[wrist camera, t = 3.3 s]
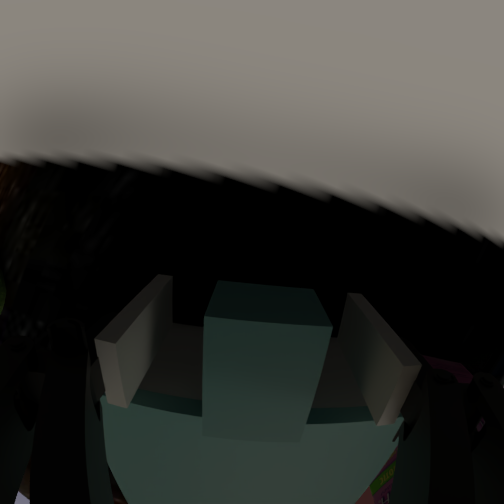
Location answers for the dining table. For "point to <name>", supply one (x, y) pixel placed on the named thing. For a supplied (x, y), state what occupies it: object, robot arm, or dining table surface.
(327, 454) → the lid
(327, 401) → the tub
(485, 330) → the dining table surface
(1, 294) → the avocado
